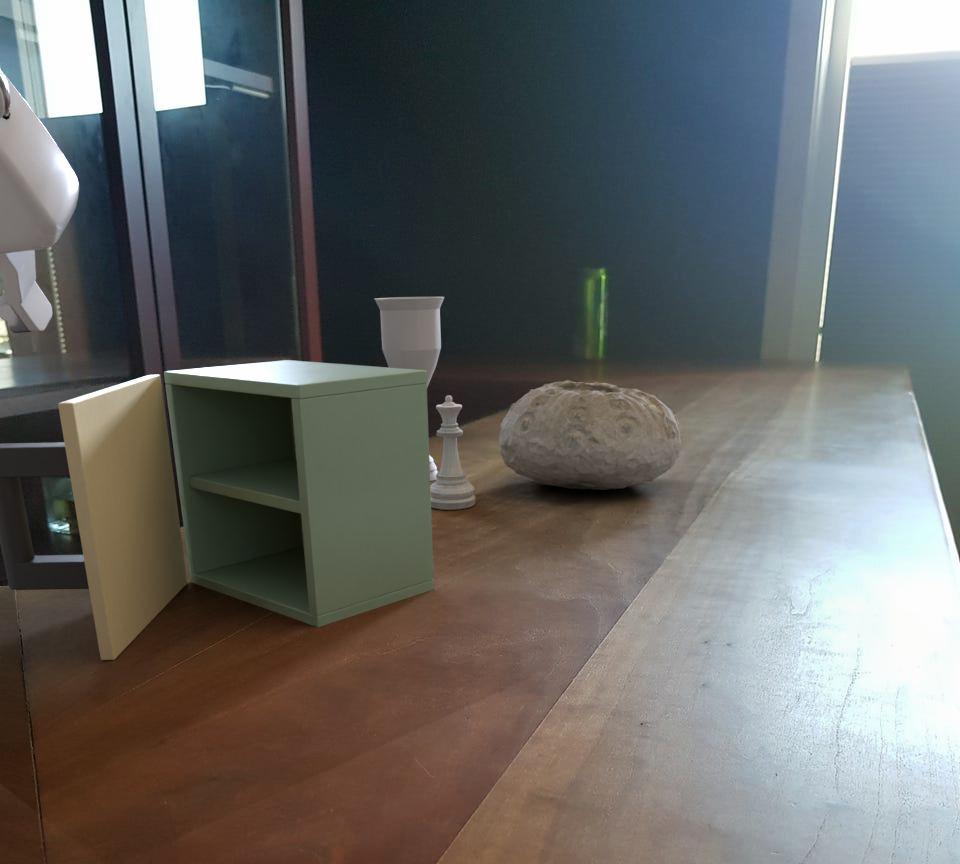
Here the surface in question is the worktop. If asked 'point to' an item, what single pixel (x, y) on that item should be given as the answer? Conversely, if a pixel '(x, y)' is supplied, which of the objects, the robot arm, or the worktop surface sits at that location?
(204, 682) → the worktop surface
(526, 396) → the decorative shell
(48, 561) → the door
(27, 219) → the robot arm
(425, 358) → the chalice
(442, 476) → the chess piece
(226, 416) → the cupboard
